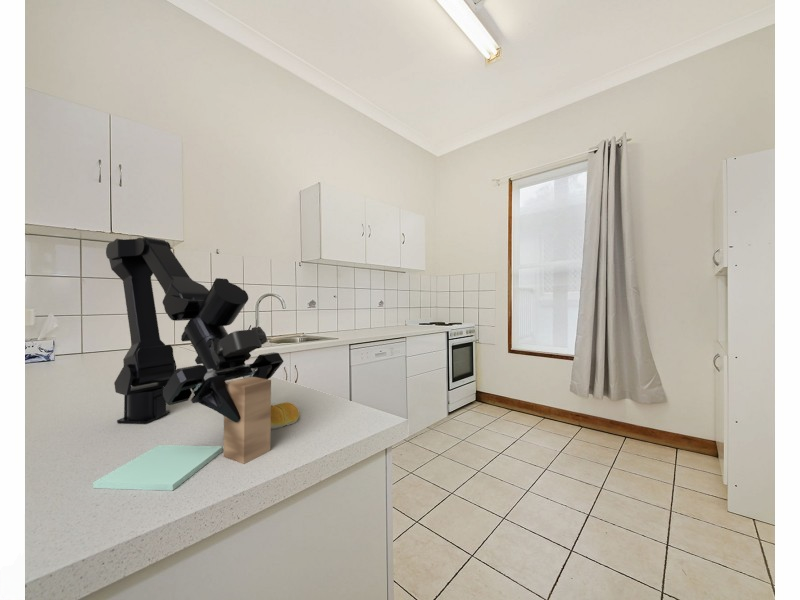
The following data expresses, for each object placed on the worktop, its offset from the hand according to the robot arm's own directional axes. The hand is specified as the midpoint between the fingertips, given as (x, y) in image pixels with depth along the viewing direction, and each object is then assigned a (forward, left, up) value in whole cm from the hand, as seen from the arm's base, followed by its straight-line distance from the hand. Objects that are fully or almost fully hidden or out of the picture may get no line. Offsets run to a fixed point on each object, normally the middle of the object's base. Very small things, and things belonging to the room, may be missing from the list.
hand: (253, 415), depth 51 cm
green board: (-11, -4, -7) cm, 14 cm away
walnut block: (-1, +1, -7) cm, 7 cm away
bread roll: (-2, +14, -7) cm, 16 cm away
